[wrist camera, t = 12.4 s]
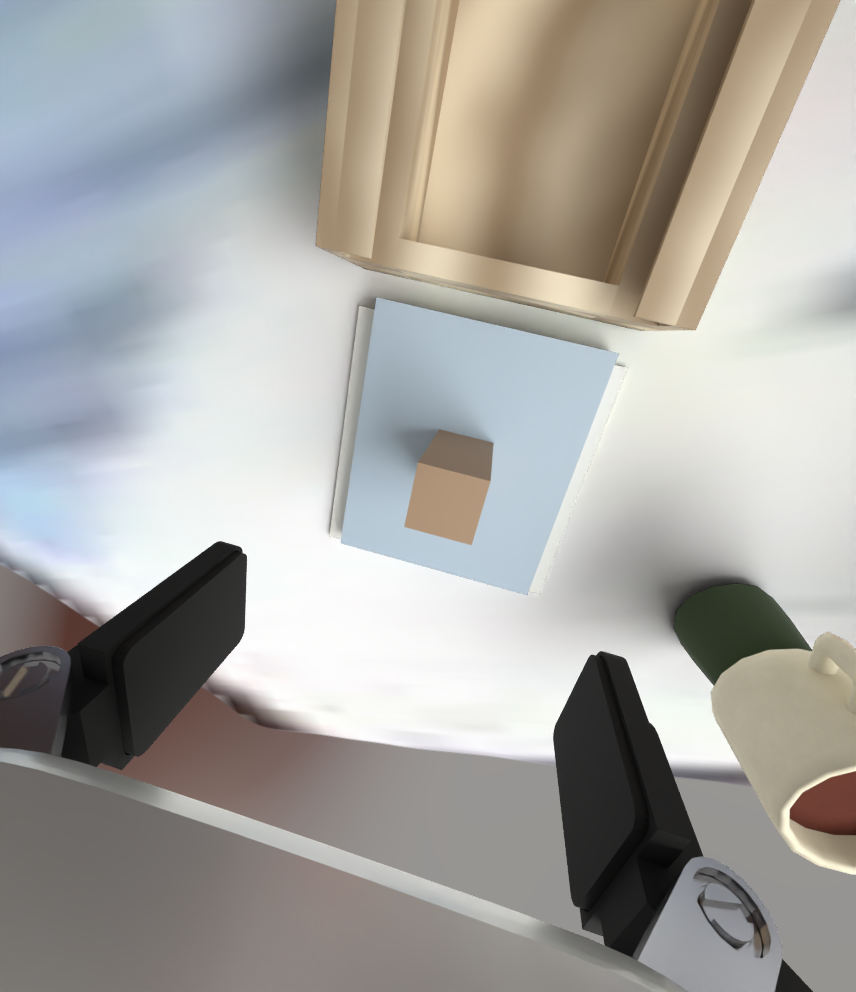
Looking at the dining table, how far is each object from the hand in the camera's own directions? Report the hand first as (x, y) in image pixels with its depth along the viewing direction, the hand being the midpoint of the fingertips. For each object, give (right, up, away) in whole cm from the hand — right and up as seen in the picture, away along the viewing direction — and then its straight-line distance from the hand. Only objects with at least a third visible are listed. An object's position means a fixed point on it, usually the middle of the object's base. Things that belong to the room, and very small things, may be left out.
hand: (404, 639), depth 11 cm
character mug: (+21, -4, +18) cm, 28 cm away
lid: (+3, +6, +16) cm, 17 cm away
